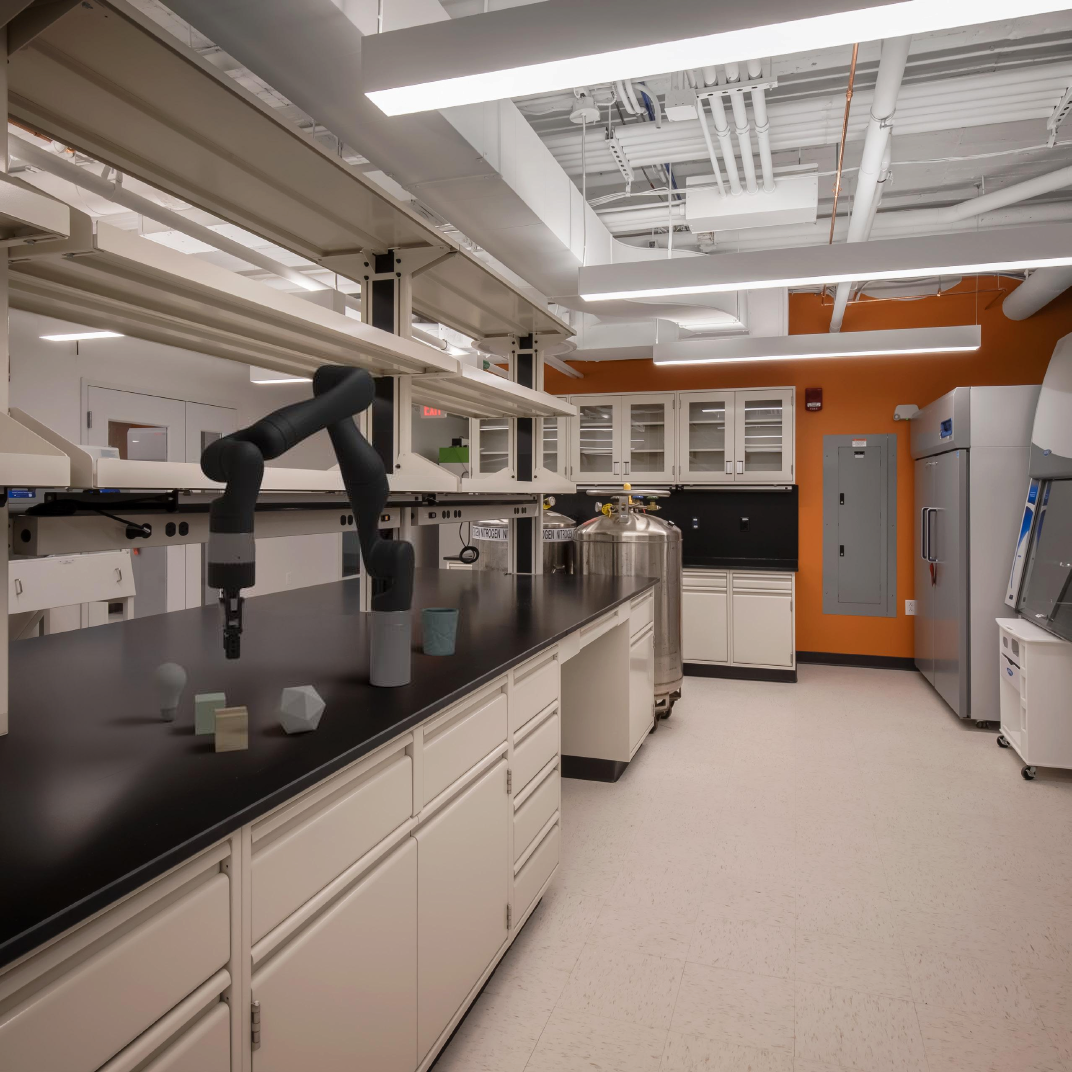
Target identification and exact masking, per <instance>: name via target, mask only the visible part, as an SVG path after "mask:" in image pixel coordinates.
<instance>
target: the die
mask: <svg viewBox="0 0 1072 1072" xmlns="http://www.w3.org/2000/svg"><path fill="white" fill-rule="evenodd" d="M325 708H326V703H325V701H324V700H323V699H322V697H321V696H320V695H319V693H318V692H317V690H316V689H315V688H314V686H312V684H311V685H302V686H295V687H285V688H284V687H283V689H282V693H281V694H280V697H279V700H278V702H277V705H276V707H275V709H274V712H273V715H274V716H275V718H276V719H277V721H278V722H279V723H280V725H281V726H282V728H283V729H284V731H285V732H286V734H295V733H301V732H308V731H309V732H310V731H314V730H315V731H316V729H317V727H318V725H319V722H320V720H321V717H322V715H323V712H324V710H325Z"/></svg>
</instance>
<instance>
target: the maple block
mask: <svg viewBox="0 0 1072 1072" xmlns="http://www.w3.org/2000/svg"><path fill="white" fill-rule="evenodd" d="M248 713H249V712H248V710H247V707H246V706H237V707H227V708H224V709H215V733H214V746H215V747H214V749H215V753H222V752H230V751H240V750H248V749H249V746H248V745H249V743H248V742H249V714H248Z"/></svg>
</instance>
